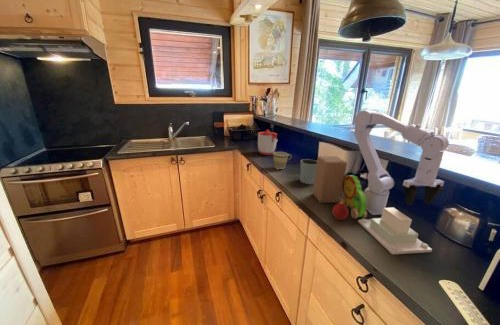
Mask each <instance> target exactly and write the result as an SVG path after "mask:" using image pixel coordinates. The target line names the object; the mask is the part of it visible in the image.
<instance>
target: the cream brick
mask: <svg viewBox="0 0 500 325" xmlns="http://www.w3.org/2000/svg"><path fill="white" fill-rule="evenodd" d="M380 216H381V217H380V218H381V220H382V221H383V222H384V223H385V224H387V225H388V226H389V227H390V228H392V229H393V230H394V231H395V232H397V233H408V231H409V228H411V225H412V221H413V220H412V218H410V217H409V216H407V215H406V214H404V213H403V212H401V211H400V210H398V209H396V208H395V207H385V208H384V209H383V212H382V215H380Z"/></svg>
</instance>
